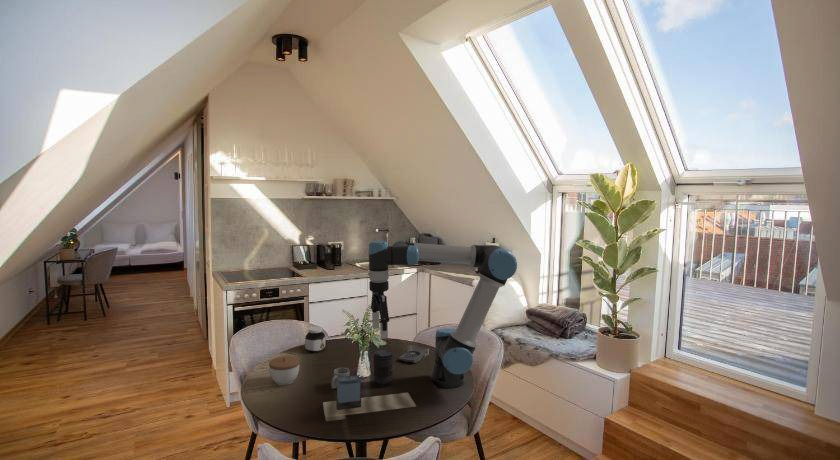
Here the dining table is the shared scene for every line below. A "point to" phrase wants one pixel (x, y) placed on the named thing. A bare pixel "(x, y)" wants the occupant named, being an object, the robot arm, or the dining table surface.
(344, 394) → the block
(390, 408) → the board
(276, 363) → the lidded bowl
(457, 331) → the robot arm
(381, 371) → the camera lens
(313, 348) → the spread jar
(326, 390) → the dining table surface
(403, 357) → the graphics card
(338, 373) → the mug
